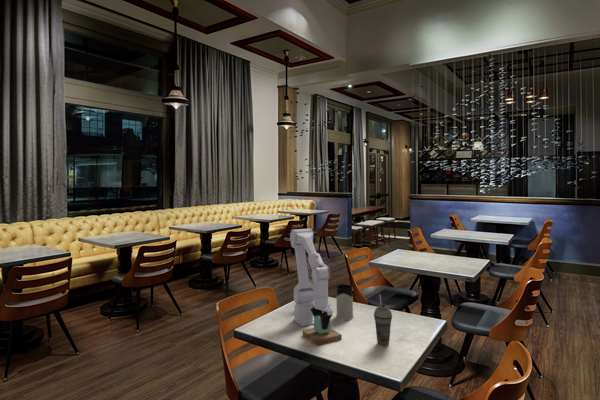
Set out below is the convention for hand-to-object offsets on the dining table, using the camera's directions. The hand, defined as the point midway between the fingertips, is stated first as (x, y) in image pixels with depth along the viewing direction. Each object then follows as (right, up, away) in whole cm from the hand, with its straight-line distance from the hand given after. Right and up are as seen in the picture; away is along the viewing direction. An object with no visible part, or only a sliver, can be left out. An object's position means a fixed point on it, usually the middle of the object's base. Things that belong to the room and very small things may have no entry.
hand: (321, 326), depth 154 cm
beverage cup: (+24, -5, -7) cm, 26 cm away
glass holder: (+13, -4, +26) cm, 30 cm away
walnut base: (0, -4, 0) cm, 4 cm away
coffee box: (0, -3, +42) cm, 42 cm away
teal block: (0, -2, 0) cm, 2 cm away
